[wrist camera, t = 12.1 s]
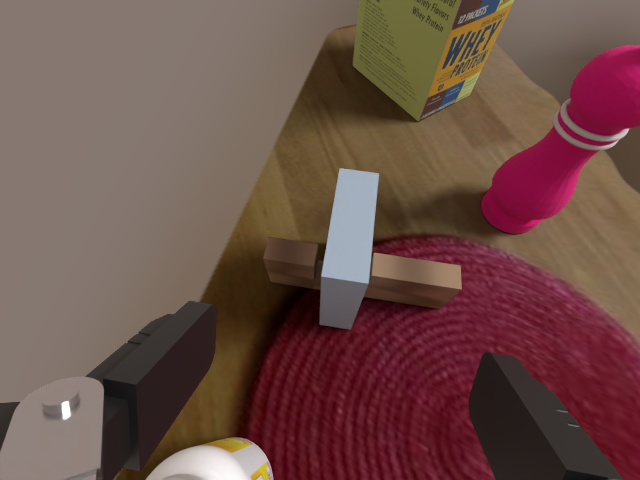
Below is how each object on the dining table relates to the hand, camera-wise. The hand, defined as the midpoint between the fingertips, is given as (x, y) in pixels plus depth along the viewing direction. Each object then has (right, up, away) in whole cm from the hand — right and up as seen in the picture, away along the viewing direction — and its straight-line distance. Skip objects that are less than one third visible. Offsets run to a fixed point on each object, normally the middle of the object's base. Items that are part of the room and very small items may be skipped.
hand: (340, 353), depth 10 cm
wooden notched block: (+3, -1, +23) cm, 23 cm away
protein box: (+13, +27, +39) cm, 50 cm away
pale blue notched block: (+1, -1, +23) cm, 23 cm away
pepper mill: (+21, +7, +28) cm, 36 cm away
